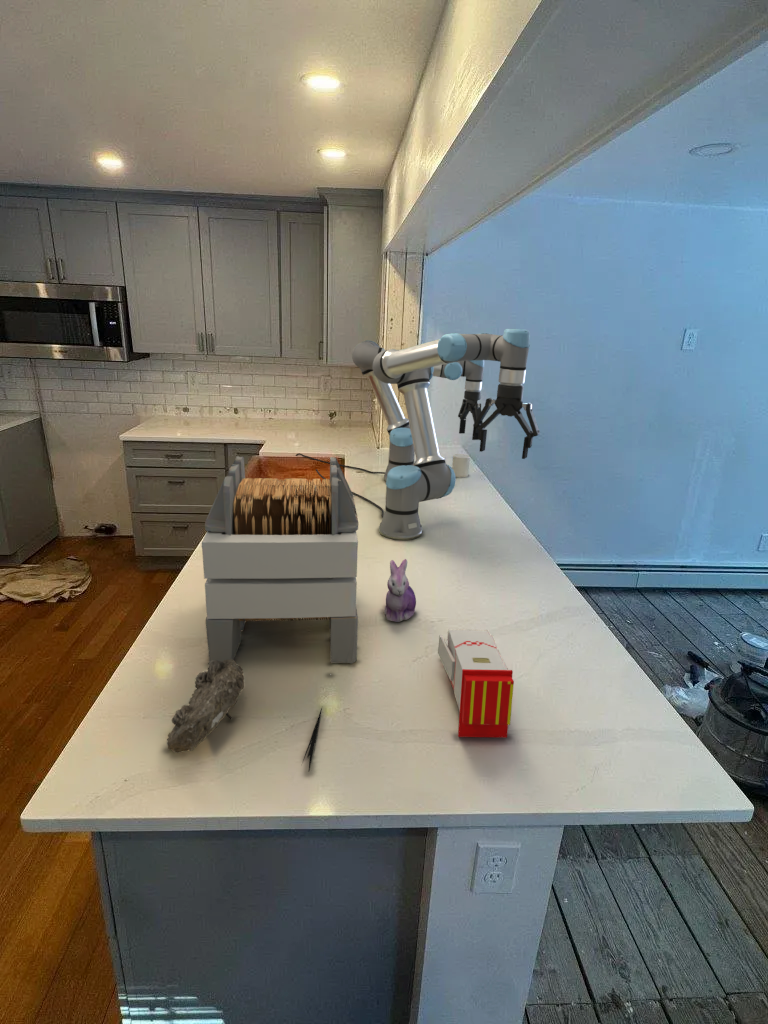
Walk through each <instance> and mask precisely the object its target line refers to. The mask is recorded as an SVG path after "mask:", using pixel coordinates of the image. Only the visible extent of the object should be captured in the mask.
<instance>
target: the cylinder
mask: <svg viewBox="0 0 768 1024" xmlns="http://www.w3.org/2000/svg"><path fill="white" fill-rule="evenodd" d="M470 462H471V456H470V455H468V454H465V453H454V454H452V465H451V469H453V470H454V473H455V478H468V477H469V473H470V471H469V470H470Z"/></svg>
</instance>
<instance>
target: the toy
mask: <svg viewBox="0 0 768 1024" xmlns="http://www.w3.org/2000/svg"><path fill="white" fill-rule="evenodd" d="M446 640H447V643H446V641H445V639H444V636H443V635H442V634H439V637H438V646H437V656H438V657H439V659H440V661H441V663H442V666H443V668H444V670H445V672H446V674H447V677H448V679H449V681H450V684H451V687H452V690H453V693H454V697H455V701H456V705H457V708H458V711H459V714H458V715H459V716H458V730H457V731H458V732H457V737H458V738H508V731H509V726H510V725H511V717H512V707H513V697H514V696H513V695H514V684H515V680H514V679H513V673H514V671H513V670H512V669H508V667H507V665H506V662H505V661H504V659H503V658H502V655H501V653H500V651H499V649H498V647H497V643H496V639H495V637H494V635H493V634H491V632H490V631H489V629H467V628H466V629H465V628H463V629H461V628H460V629H459V628H448V630H447V639H446Z"/></svg>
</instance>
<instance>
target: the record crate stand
mask: <svg viewBox="0 0 768 1024" xmlns="http://www.w3.org/2000/svg"><path fill="white" fill-rule="evenodd" d="M244 457H245V456H239V455H236V456H235V459H234V461H233V462H232V464H230V465H231V466H230V468H229V470H228V472H227V474H226V476H225V477H223V481H222V482H221V485H220V488H219V490H218V492H217V494H216V496H215V499H214V501H213V504H212V506H211V508H210V509H209V512H208V515H207V517H206V519H205V522H204V530H205V531H206V533H205V535H204V537H203V539H202V540H201V551H202V553H201V554H202V566H203V568H202V569H203V579H205V580H206V581H205V582H204V594H205V607H206V608H205V609H206V618H205V633H206V644H207V651H208V662H207V664H208V666H209V665H210V662H211V661H212V660H217V661H222V662H223V661H224V660H227V659H228V660H231V659H232V660H234V661H235V657H236V655H237V652H238V649H239V647H240V644H241V642H242V632H243V631H244V628H245V625H246V622H265V621H268V622H269V621H270V622H271V621H274V622H275V621H276V622H277V621H288V622H289V621H297V620H298V621H303V620H304V621H315V620H316V621H318V620H320V621H324V620H326V621H328V623H329V627H328V628H329V651H330V652H329V653H330V655H329V656H330V664H351V665H352V664H354V663H356V662H357V661H358V659H357V658H358V657H357V656H358V630H359V629H358V628H359V624H358V623H359V621H358V620H359V619H358V618H359V616H358V609H357V589H358V588H357V583H358V582H357V577H358V552H359V551H358V547H359V539H358V534H357V531H358V530H359V520H358V519H359V518H358V514H357V513H358V512H357V508H356V503H355V495H354V494H352V492H353V491H352V490H351V487H350V485H349V483H348V481H347V478H346V476H345V474H344V472H343V470H342V468H341V466H339V464H340V463H339V461H338V459H337V457H333V456H330V457H329V462H330V464H329V478H326V479H323V478H322V479H320V478H312V480H309V479H308V478H291V477H290V478H289V477H288V478H279V479H278V478H273V477H272V478H271V477H264V478H262V477H259V478H258V477H257V478H256V477H255V478H252V477H246V471H245V468H246V467H245V458H244ZM351 491H352V492H351Z"/></svg>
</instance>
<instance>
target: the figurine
mask: <svg viewBox="0 0 768 1024" xmlns="http://www.w3.org/2000/svg"><path fill="white" fill-rule="evenodd" d="M407 567H408V559H406V558H404V559H403V560H402V561H401V563H400V565H399V566H398V565H397V563H396V562H395V561H394V560H393V559H391V560H390V561H389V570H390V576H389V578H388V579H387V589H388V591H387V592H386V594H385V595H386V596H385V607H384V615H385V616H386V620H387V621H391V622H395V623H400V622H402V621H406V620H409V619H410V618H411V617H413V616H414V615H415V610H416V606H417V597H416V593H415V591H414V590H413V587H411V586H410V582H409V579H408V577H407V574H406V571H407Z"/></svg>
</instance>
